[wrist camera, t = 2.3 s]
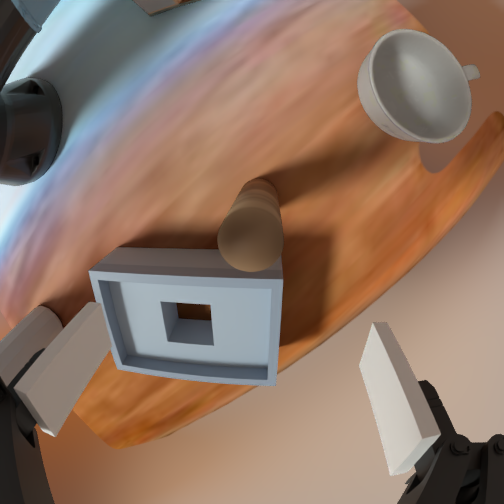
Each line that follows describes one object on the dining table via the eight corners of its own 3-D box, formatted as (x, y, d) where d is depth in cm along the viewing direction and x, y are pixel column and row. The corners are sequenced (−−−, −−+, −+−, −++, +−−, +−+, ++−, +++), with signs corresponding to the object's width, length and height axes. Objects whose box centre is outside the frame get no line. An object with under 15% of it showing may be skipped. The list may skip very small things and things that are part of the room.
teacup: (360, 147, 28) (389, 151, 20) (334, 52, 24) (354, 27, 17) (460, 133, 26) (501, 137, 18) (438, 48, 22) (475, 33, 15)
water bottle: (53, 300, 38) (-43, 403, 15) (73, 340, 41) (-4, 447, 17) (23, 302, 39) (-62, 387, 16) (41, 339, 42) (-31, 428, 19)
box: (117, 247, 34) (88, 270, 27) (280, 251, 33) (283, 279, 26) (136, 337, 39) (117, 369, 32) (275, 348, 38) (275, 385, 31)
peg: (239, 178, 30) (216, 208, 17) (278, 178, 30) (285, 209, 17) (240, 215, 31) (218, 270, 18) (277, 215, 31) (282, 272, 18)
